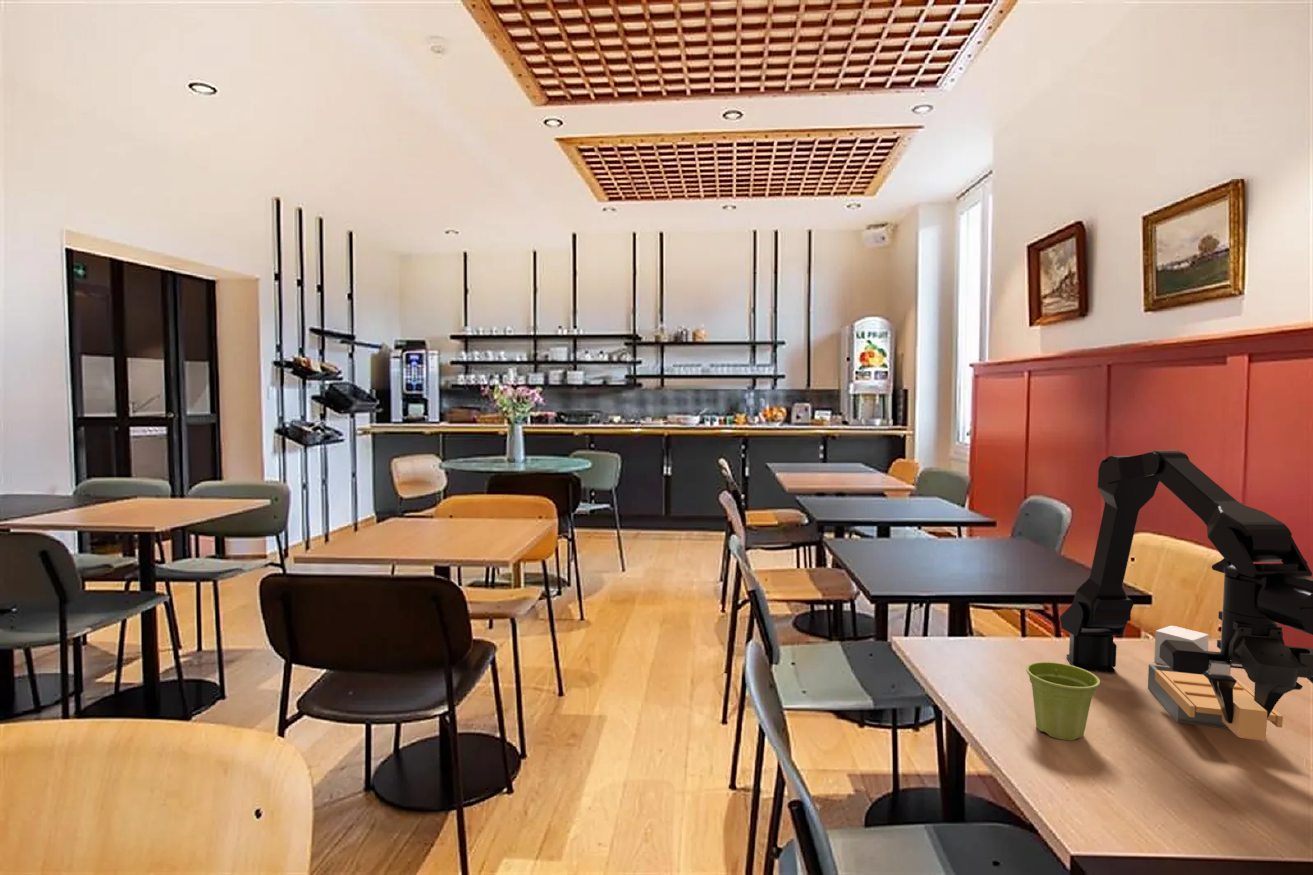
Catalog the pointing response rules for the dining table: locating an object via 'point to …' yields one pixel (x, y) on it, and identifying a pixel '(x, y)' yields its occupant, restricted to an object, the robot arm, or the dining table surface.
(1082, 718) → the plant pot
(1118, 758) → the dining table surface
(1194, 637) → the white cube
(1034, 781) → the dining table surface
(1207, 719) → the tub
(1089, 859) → the dining table surface
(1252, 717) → the lid
